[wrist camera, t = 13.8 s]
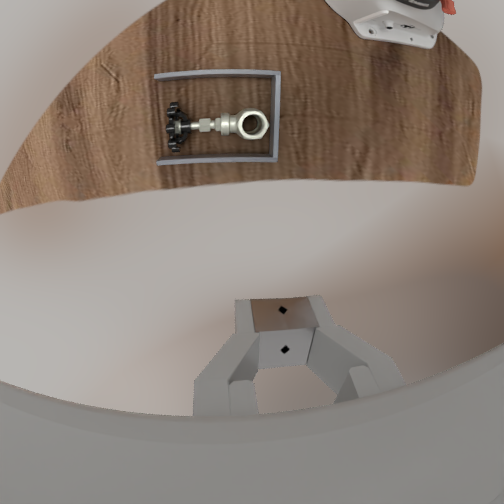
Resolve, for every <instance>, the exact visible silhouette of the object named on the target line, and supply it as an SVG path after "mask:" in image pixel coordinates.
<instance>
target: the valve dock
mask: <svg viewBox="0 0 504 504" xmlns="http://www.w3.org/2000/svg"><path fill="white" fill-rule="evenodd" d="M209 77H257V78H272V80H271V115H270V145H269V154H200V155H181V156H166V157H161V158H160V159H158V160H157V165H170V164H186V163H208V162H278V141H279V115H280V83H281V71H271V70H248V69H217V70H194V71H181V72H170V73H162V74H154V79H156V80H158V81H167V80H178V79H190V78H209Z"/></svg>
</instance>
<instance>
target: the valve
mask: <svg viewBox="0 0 504 504" xmlns="http://www.w3.org/2000/svg"><path fill="white" fill-rule="evenodd" d="M176 107H179V103H178V102H171V103H170V108H168V109H167V117H169V124H167V125H166V132H167V133H169V137H170V139H169V141H168V147H169V148H172V152H180V147H178V145H177V144H182V142H184V141H185V140H186V139H187V137H188V134H191V133H192V130H194V129H199V131H200V132H207V131H211V129H215V130H216V131H221V136H228V135H229V133H237V134H238V135H239V136H240V137H242V138H244V139H247V140H254V139H261V138H262V137H263V135H264V134H265V132H266V130H267V129H268V127H269V123H268V121H267V119H266V117H265V115H264V114H263V113H262V111H260V110H258V109H255V108H246V109H243V110H241V111H240V112H239V113H238V114H237V115H229V113H221V118H215V120H210V118H207V119H199V122H192V119H191V118H188V117H187V115H186V114H185V113H184V112H181V108H176ZM248 115H253V116H255V117H256V119H257V122H258V123H257V127H256V128H255V129H254V130H253V131H250V132H247V131H244V130H243V128H242V122H243V120H244V118H245V117H247V116H248ZM179 116H180V117H182V118H183V119H179ZM180 134H183V136H182V137H179V135H180Z"/></svg>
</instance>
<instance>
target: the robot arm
mask: <svg viewBox="0 0 504 504" xmlns="http://www.w3.org/2000/svg"><path fill="white" fill-rule="evenodd" d="M325 1H326V2H327V4H328V5H329V6H330V7H331V8H332V9H333V10H334V11H335V12H337V13H338V14H339V15H340V16H342V17H343V18H344V19H345V20H346V21H347V22H348V23H349V24H350V26H351V27H352V29H353V30H354V32H355V33H356V34H357V35H358V36H359V37H360V38H362V39H369V40H378V41H385V42H392V43H398V44H404V45H409V46H415V47H419V48H424V49H431V48H432V47H433V46H434V44H435V42H436V38H437V33H439V32H440V31H441V30H442V28H443V24H444V13H447V14H451V15H452V14H453V15H454V14H456V11H455V8H454V2H453V1H452V0H325ZM369 31H371V34H370V33H369ZM296 365H306V366H308V368H309V369H310V370H312V371H313V372H314V373H315V374H316V375H317V376H318V377H319V378H320V379H321V380H322V381H323V382H324V383H325V384H326V385H327V386H329V387H330V388H331V389H332V390H333V391H334V392H335V393H336V394H337V397H336V399H335V401H334V403H333V404H330V405H325V406H319V407H313V408H307V409H301V410H293V411H286V412H277V413H267V414H259V412H258V406H257V399H256V392H255V386H254V383H253V382H252V381H253V379H254V377H255V375H256V373H257V372H258V369H265V368H275V367H284V366H296ZM0 504H504V343H503V344H501V345H499V346H497V347H495V348H493V349H491V350H490V351H488V352H486V353H483V354H481V355H479V356H477V357H475V358H473V359H471V360H469V361H467V362H465V363H462V364H460V365H458V366H455V367H453V368H451V369H448V370H446V371H443V372H441V373H438V374H436V375H434V376H430V377H428V378H425V379H422V380H420V381H416V382H413V383H411V384H407V385H406V383H405V381H404V379H403V378H402V376H401V374H400V372H399V370H398V368H397V366H396V365H395V363H394V361H393V359H392V358H391V357H390V356H388V355H387V354H385V353H383V352H382V351H380V350H378V349H377V348H375V347H374V346H372V345H370V344H369V343H367V342H365V341H364V340H362V339H361V338H359V337H358V336H356V335H354V334H353V333H351V332H350V331H348V330H347V329H345V328H343V327H341V326H340V325H335V323H334V321H333V319H332V317H331V315H330V313H329V311H328V309H327V306H326V304H325V302H324V300H323V298H322V297H321V296H320V295H313V296H306V297H294V298H276V299H250V300H249V299H248V300H235V334H232V336H231V337H230V338H229V339H228V340H227V341H226V343H225V344H224V345H223V346H222V348H221V349H220V350H219V351H218V353H217V354H216V355H215V356H214V358H213V359H212V360H211V361H210V362H209V364H208V365H207V366H206V367H205V369H204V370H203V371H202V372H201V373H200V374H199V376H198V377H197V378H196V379H195V381H194V401H193V416H171V415H155V414H143V413H134V412H126V411H118V410H111V409H104V408H99V407H93V406H88V405H83V404H78V403H74V402H69V401H65V400H60V399H57V398H53V397H49V396H46V395H42V394H39V393H35V392H32V391H29V390H26V389H23V388H20V387H16V386H14V385H11V384H8V383H5V382H3V381H0Z"/></svg>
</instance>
